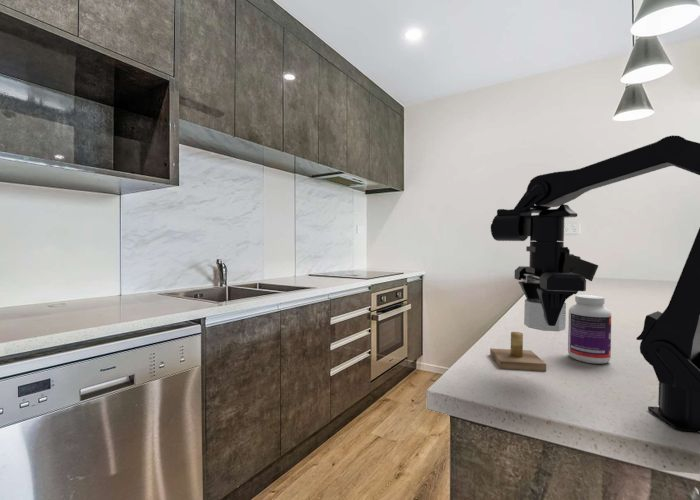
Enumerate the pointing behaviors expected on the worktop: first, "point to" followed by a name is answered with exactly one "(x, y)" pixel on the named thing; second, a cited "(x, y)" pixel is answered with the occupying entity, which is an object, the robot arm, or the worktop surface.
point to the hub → (541, 316)
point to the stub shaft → (517, 356)
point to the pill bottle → (589, 330)
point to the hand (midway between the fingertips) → (544, 321)
